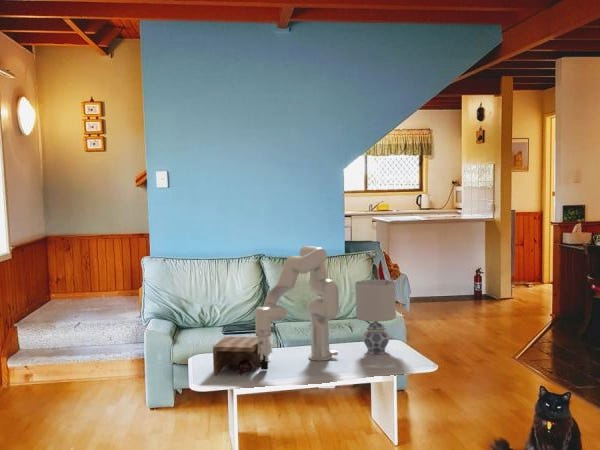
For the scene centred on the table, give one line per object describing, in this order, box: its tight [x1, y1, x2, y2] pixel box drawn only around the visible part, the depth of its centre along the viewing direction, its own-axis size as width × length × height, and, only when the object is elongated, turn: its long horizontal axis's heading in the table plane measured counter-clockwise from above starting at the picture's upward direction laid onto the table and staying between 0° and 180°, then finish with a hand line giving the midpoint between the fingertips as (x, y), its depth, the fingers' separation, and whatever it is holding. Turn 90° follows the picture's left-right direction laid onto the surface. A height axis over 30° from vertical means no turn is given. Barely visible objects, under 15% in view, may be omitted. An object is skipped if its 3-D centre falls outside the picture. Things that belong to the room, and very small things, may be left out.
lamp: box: [354, 279, 397, 355], centre depth 315 cm, size 22×22×38 cm
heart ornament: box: [235, 359, 255, 376], centre depth 288 cm, size 6×12×11 cm
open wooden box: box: [212, 336, 261, 376], centre depth 289 cm, size 20×20×14 cm
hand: (264, 369), depth 287 cm, fingers closed
